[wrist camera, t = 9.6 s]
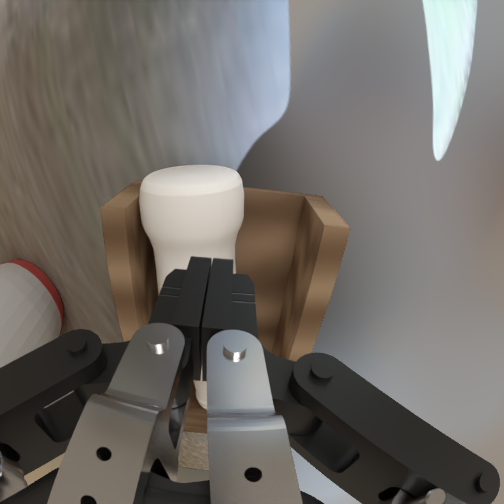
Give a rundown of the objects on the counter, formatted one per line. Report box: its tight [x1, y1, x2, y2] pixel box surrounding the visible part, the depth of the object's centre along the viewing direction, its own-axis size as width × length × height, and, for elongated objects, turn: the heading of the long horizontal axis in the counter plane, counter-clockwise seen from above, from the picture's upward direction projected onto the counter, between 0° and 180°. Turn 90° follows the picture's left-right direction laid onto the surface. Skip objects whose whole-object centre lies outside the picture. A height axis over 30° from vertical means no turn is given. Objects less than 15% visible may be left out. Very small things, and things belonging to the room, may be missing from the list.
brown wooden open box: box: [101, 181, 350, 434], centre depth 30 cm, size 32×18×8 cm, turn 174°
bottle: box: [139, 165, 244, 409], centre depth 27 cm, size 8×8×30 cm
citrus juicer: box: [0, 260, 64, 368], centre depth 22 cm, size 16×17×20 cm
